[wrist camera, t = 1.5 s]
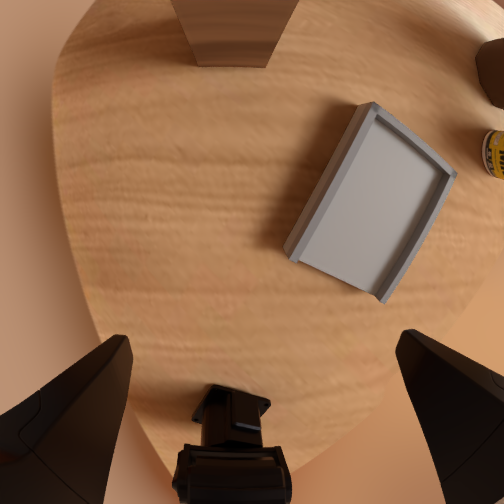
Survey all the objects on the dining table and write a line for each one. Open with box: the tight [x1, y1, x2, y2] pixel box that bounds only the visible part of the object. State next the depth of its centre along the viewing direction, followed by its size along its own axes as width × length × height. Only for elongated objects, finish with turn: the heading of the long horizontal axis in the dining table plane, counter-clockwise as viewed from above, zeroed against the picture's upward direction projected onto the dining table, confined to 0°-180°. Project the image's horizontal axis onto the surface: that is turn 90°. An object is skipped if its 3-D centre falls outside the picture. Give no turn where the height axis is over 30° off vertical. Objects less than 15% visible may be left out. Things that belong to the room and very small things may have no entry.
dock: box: [283, 102, 458, 304], centre depth 20 cm, size 12×9×2 cm
